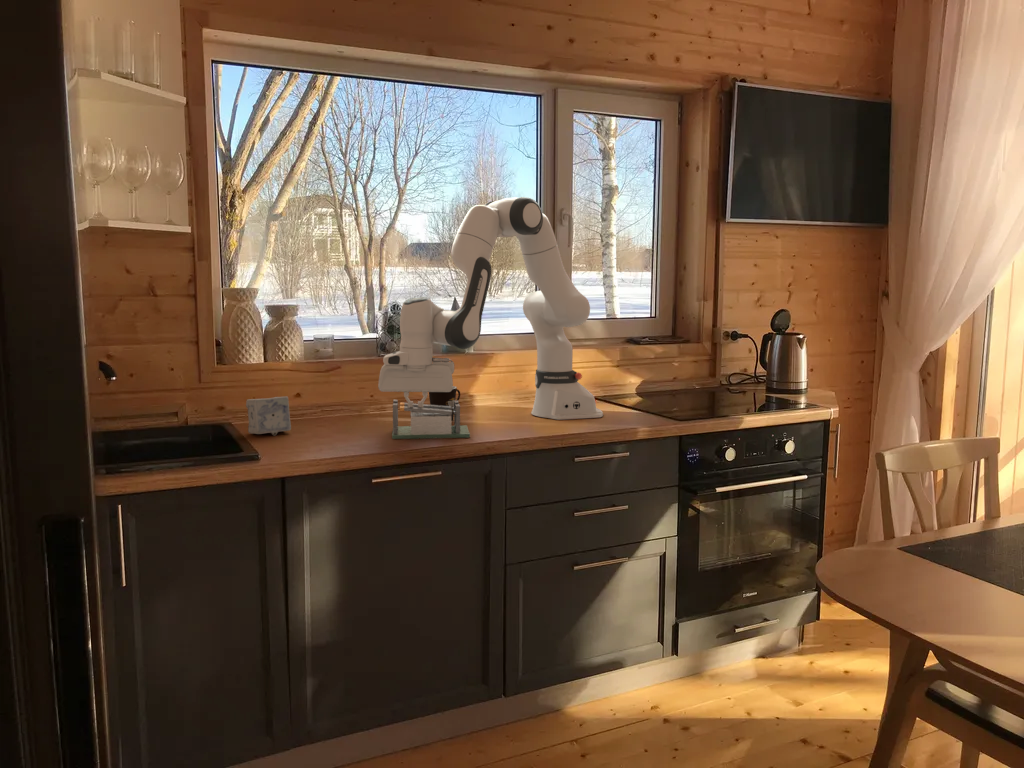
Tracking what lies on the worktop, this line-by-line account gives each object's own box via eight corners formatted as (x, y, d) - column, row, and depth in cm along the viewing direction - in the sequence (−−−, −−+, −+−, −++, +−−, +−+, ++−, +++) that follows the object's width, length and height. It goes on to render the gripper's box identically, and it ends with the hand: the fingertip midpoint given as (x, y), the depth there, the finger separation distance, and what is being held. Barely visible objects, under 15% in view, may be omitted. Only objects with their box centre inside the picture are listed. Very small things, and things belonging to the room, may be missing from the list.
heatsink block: (466, 428, 234) (466, 397, 233) (469, 437, 222) (469, 405, 221) (393, 429, 231) (392, 398, 230) (392, 438, 220) (391, 406, 218)
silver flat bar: (450, 408, 231) (450, 405, 231) (450, 410, 228) (451, 407, 228) (400, 404, 229) (400, 402, 229) (399, 406, 226) (400, 404, 226)
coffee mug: (434, 423, 241) (434, 390, 239) (424, 418, 248) (423, 386, 247) (470, 420, 246) (470, 388, 244) (459, 415, 253) (459, 384, 252)
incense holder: (280, 429, 231) (279, 393, 230) (292, 434, 225) (290, 397, 223) (246, 433, 225) (244, 396, 224) (257, 438, 219) (255, 400, 217)
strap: (451, 412, 225) (451, 409, 225) (451, 414, 222) (452, 411, 222) (399, 408, 223) (400, 405, 223) (399, 410, 220) (399, 407, 220)
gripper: (453, 356, 224) (453, 406, 226) (379, 355, 222) (378, 405, 224) (455, 359, 218) (454, 410, 220) (378, 358, 216) (377, 409, 218)
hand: (415, 407), depth 222 cm, fingers closed
